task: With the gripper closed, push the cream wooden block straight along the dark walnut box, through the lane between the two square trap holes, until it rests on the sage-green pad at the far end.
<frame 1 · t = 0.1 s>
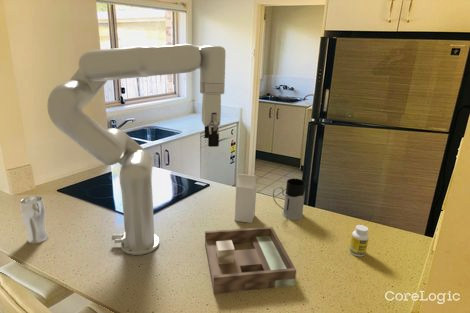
hand: (211, 141, 105), 37 cm above the worktop, tool pointing down, fingers open, 9 cm apart
milk carton: (244, 218, 133), on the worktop
supplement bottle: (357, 252, 114), on the worktop
white and black mug: (286, 215, 137), on the worktop
beer glass: (38, 239, 113), on the worktop
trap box: (245, 263, 105), on the worktop
block: (224, 258, 103), point 2 cm above the worktop, touching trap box
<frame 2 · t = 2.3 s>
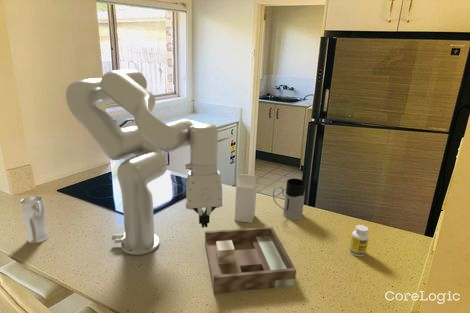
hand: (204, 225, 97), 15 cm above the worktop, tool pointing down, fingers closed
nothing on the worktop moved.
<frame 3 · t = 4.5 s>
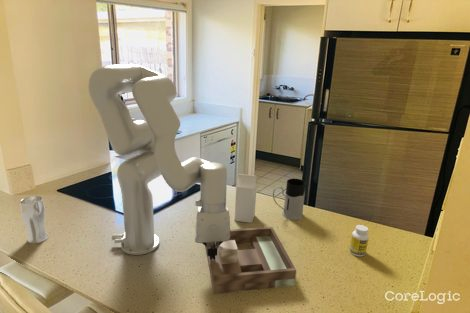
hand: (212, 257, 102), 4 cm above the worktop, tool pointing down, fingers closed
block: (227, 258, 103), point 2 cm above the worktop, touching gripper, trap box
everything else where it was.
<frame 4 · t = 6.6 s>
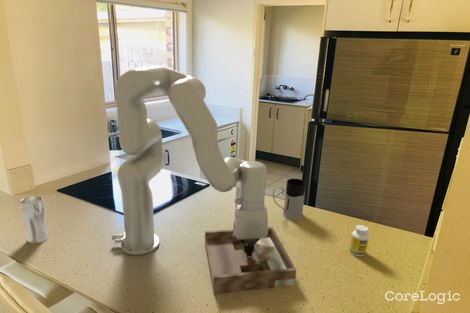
hand: (248, 253, 104), 4 cm above the worktop, tool pointing down, fingers closed
block: (263, 255, 105), point 3 cm above the worktop, touching gripper, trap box
everything else where it was.
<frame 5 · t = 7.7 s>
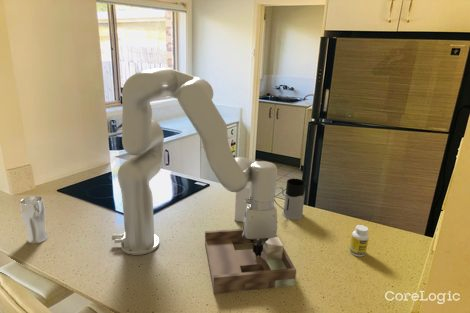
hand: (257, 253, 105), 4 cm above the worktop, tool pointing down, fingers closed
block: (271, 255, 106), point 2 cm above the worktop, touching gripper, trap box
everything else where it was.
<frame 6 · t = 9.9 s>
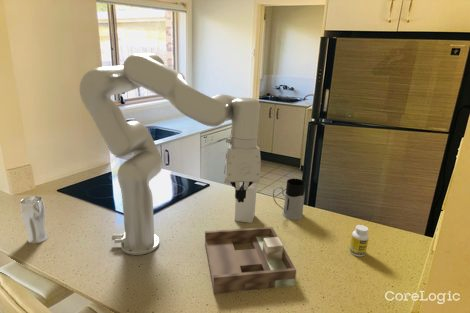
hand: (240, 200, 99), 22 cm above the worktop, tool pointing down, fingers closed
block: (271, 255, 106), point 2 cm above the worktop, touching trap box
everything else where it was.
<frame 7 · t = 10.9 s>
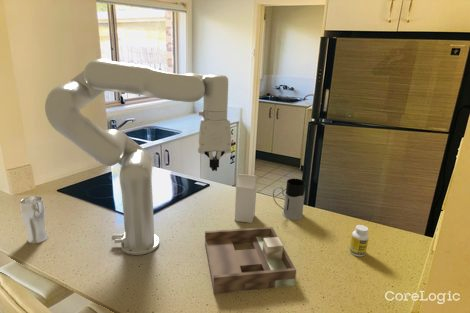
hand: (214, 169, 109), 27 cm above the worktop, tool pointing down, fingers closed
nothing on the worktop moved.
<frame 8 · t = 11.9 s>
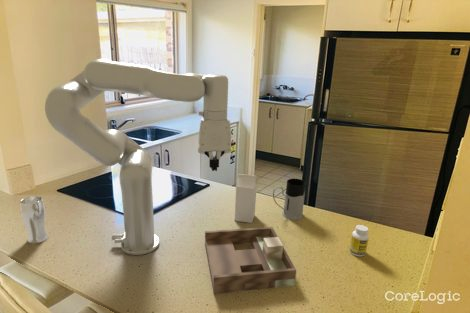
hand: (214, 169, 109), 27 cm above the worktop, tool pointing down, fingers closed
nothing on the worktop moved.
at the end: block inside the target area (0.3 cm from its centre), point 2.5 cm above the worktop; block tilted 0° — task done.
